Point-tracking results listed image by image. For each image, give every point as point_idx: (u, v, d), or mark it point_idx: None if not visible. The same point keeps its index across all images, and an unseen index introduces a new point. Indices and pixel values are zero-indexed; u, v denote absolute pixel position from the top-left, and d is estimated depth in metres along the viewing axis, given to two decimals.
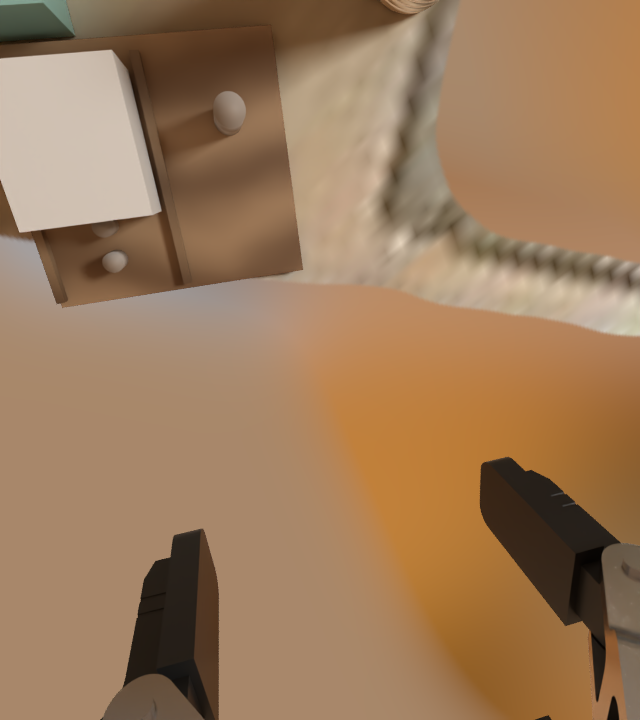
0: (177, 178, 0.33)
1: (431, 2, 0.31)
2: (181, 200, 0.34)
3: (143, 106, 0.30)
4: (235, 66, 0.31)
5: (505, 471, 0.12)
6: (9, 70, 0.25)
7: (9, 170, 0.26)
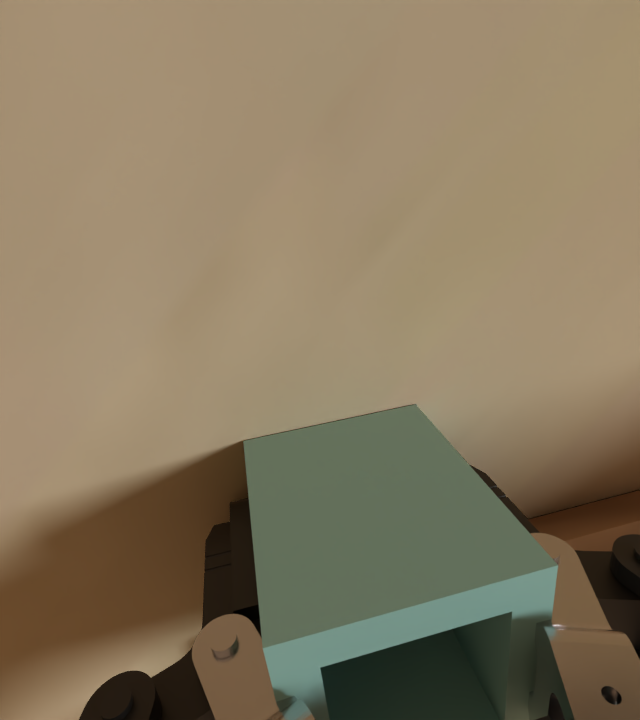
0: None
1: None
2: None
3: None
4: None
5: None
6: None
7: None
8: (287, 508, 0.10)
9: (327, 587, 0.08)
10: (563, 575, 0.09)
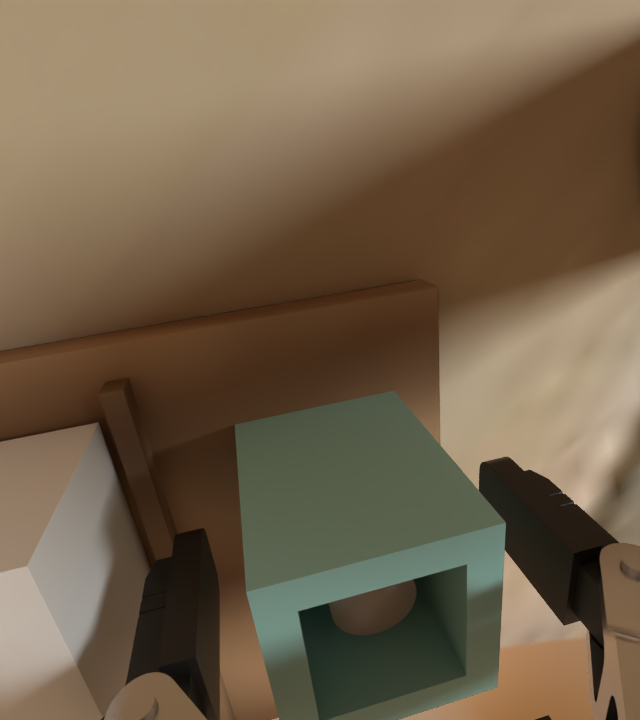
0: None
1: None
2: None
3: (137, 496, 0.13)
4: (350, 376, 0.14)
5: (504, 471, 0.12)
6: None
7: None
8: (272, 480, 0.11)
9: (304, 543, 0.09)
10: None
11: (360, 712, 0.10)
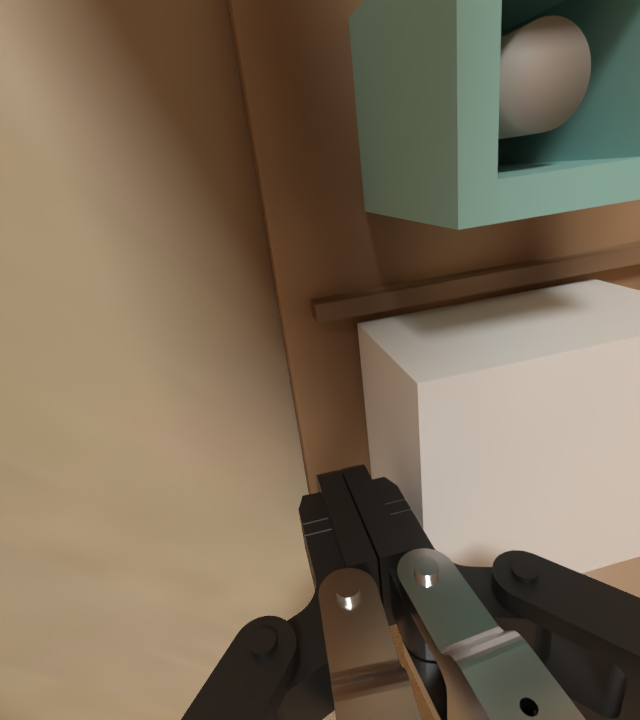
0: (529, 243, 0.16)
1: None
2: (568, 238, 0.16)
3: (413, 303, 0.15)
4: (326, 79, 0.13)
5: (353, 478, 0.12)
6: None
7: (589, 556, 0.14)
8: (399, 185, 0.11)
9: (439, 164, 0.09)
10: (437, 593, 0.09)
11: None
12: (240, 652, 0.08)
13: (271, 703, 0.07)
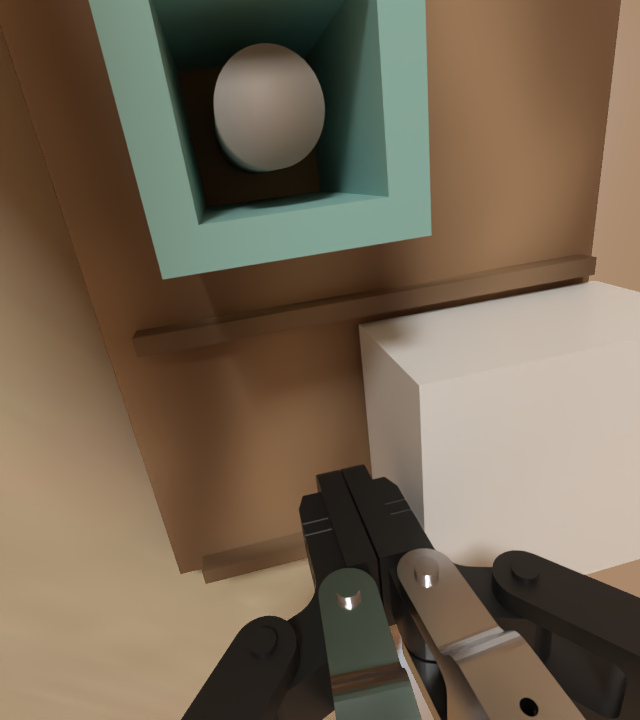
0: (378, 270, 0.15)
1: None
2: (421, 265, 0.15)
3: (244, 335, 0.14)
4: None
5: (353, 478, 0.12)
6: None
7: (590, 558, 0.14)
8: None
9: None
10: (437, 593, 0.09)
11: (391, 141, 0.08)
12: (240, 652, 0.08)
13: (271, 703, 0.07)
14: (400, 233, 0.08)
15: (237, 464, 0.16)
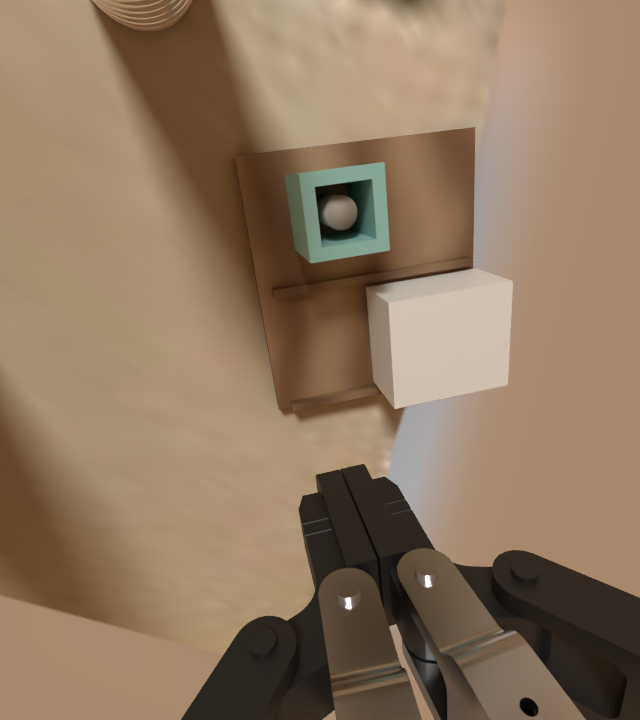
0: (374, 263, 0.34)
1: None
2: (393, 261, 0.34)
3: (318, 290, 0.33)
4: (276, 197, 0.31)
5: (353, 478, 0.12)
6: (400, 377, 0.32)
7: (465, 386, 0.33)
8: (300, 243, 0.29)
9: (305, 241, 0.27)
10: (437, 593, 0.09)
11: (377, 223, 0.27)
12: (240, 652, 0.08)
13: (271, 703, 0.07)
14: (380, 249, 0.27)
15: (309, 353, 0.35)
